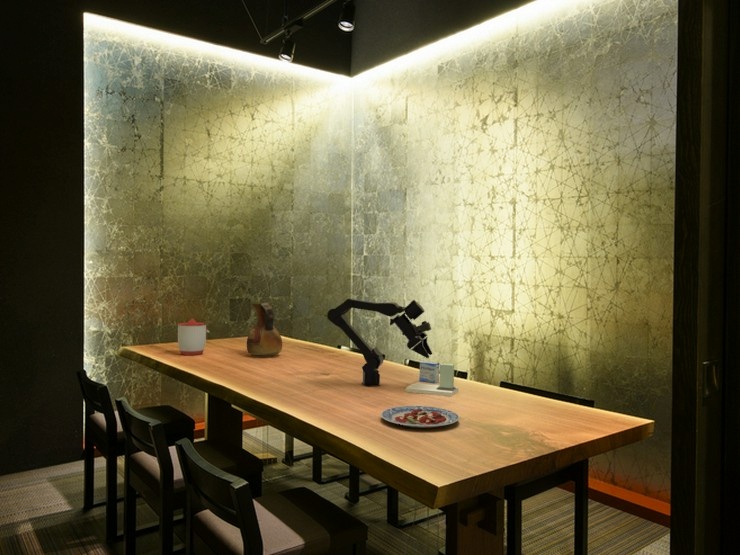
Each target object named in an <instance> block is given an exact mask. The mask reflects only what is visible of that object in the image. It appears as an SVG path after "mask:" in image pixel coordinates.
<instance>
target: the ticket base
mask: <svg viewBox="0 0 740 555" xmlns="http://www.w3.org/2000/svg"><path fill="white" fill-rule="evenodd" d="M439 387H440V384H439V385H438V384H432V383H430V384H429V383H419V382H414V383H412V384H409V385H408V386H406V387H405V393H415V394H422V393H423V395H431V396H432V395H433V396H440V397H441V396H442V397H443V396H444V397H453V395H455V394H457V392H459V387H458V386H454V388H453V389H442V388H439Z"/></svg>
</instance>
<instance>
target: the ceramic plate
mask: <svg viewBox="0 0 740 555" xmlns="http://www.w3.org/2000/svg"><path fill="white" fill-rule="evenodd" d="M380 416H381V418H382V419H383V420H385V421H387V422H389V423H393V424H397V425H399V424H400V426H402V425H403V427H407V428H413V429H415V428H416V429H431V428H437V427H442V426H449V425H451V424H454V423H456V422H458V421H459V419H460V416H459V414H457V413H456V412H454V411H452V410H449V409H446V408H442V407H436V406H427V405H401V406H395V407H390V408H387V409H385V410H383V411H382V412H380Z"/></svg>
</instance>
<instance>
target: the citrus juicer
mask: <svg viewBox="0 0 740 555" xmlns="http://www.w3.org/2000/svg"><path fill="white" fill-rule="evenodd" d="M207 326H208V325H207V323H204V322H197V321H196V320H195V319H194V318H190V319H189V320H188V322H182V323H181V322H180V323H177V345H178V349H179V352H180V355H184V356H196V355H197V356H199V355H203V353H204V351H205V347H206V342H207V333H209V334H210V330H209V329H207Z"/></svg>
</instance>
